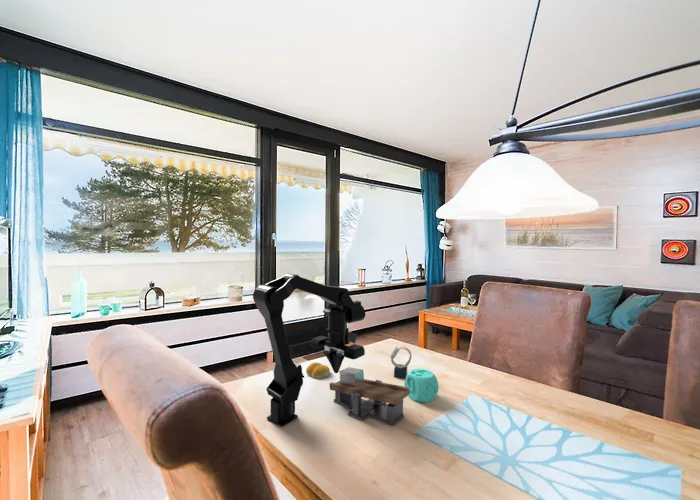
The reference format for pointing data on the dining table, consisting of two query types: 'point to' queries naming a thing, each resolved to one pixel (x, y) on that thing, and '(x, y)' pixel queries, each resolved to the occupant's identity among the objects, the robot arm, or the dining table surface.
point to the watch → (400, 370)
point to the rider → (352, 377)
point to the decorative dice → (421, 385)
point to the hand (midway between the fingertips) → (336, 372)
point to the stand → (370, 408)
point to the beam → (375, 391)
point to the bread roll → (318, 370)
